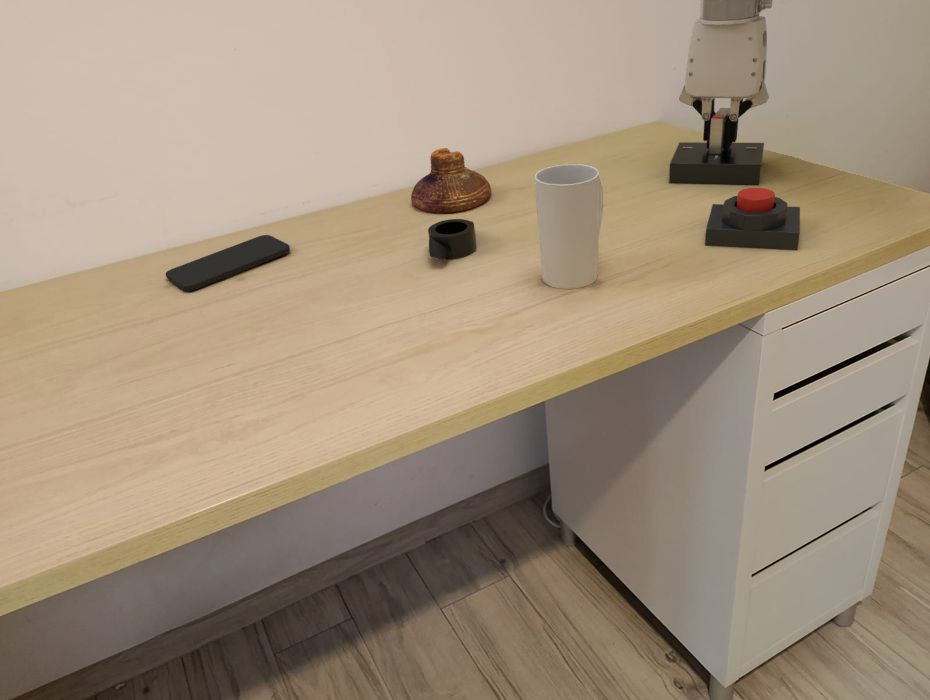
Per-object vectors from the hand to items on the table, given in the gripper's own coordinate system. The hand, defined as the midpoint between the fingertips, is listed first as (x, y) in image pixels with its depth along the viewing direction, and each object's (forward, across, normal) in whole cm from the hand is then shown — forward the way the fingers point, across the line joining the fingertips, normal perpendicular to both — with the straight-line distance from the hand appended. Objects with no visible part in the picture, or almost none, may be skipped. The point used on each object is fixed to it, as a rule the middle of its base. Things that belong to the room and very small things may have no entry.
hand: (719, 145), depth 108 cm
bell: (+4, +34, +20) cm, 40 cm away
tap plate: (+3, 0, +1) cm, 4 cm away
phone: (+4, +51, +49) cm, 71 cm away
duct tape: (+4, +25, +36) cm, 44 cm away
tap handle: (0, 0, 0) cm, 0 cm away
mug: (+4, +7, +38) cm, 39 cm away
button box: (+3, -9, +23) cm, 25 cm away
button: (0, -9, +24) cm, 25 cm away
